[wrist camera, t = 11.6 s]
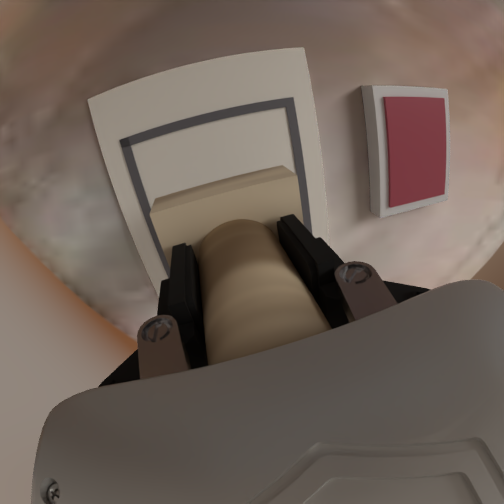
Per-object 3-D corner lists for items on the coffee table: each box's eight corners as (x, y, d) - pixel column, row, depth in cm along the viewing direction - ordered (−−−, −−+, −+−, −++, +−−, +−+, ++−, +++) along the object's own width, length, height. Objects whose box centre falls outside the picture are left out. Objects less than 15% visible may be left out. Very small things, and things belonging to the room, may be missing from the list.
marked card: (88, 99, 14) (86, 99, 13) (302, 48, 15) (304, 47, 14) (170, 318, 23) (170, 321, 23) (329, 274, 24) (331, 277, 24)
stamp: (156, 194, 13) (112, 352, 5) (278, 162, 13) (412, 266, 5) (192, 293, 16) (208, 457, 8) (294, 265, 16) (377, 406, 8)
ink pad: (360, 85, 17) (374, 85, 15) (435, 87, 17) (449, 89, 16) (370, 210, 22) (382, 219, 20) (437, 194, 22) (449, 201, 21)
